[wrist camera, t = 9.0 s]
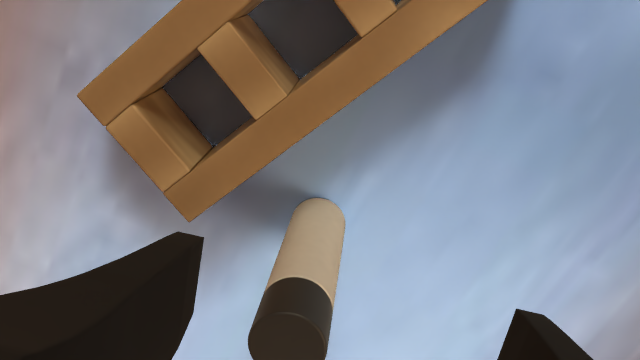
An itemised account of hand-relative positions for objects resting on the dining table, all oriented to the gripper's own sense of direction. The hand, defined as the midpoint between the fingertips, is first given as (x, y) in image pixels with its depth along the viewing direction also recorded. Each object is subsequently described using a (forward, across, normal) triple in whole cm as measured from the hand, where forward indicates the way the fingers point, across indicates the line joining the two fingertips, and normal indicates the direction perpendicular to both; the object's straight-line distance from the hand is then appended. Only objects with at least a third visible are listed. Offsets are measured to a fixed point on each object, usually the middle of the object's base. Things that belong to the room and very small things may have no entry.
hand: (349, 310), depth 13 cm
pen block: (+10, +3, -5) cm, 12 cm away
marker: (+10, +1, +3) cm, 11 cm away
